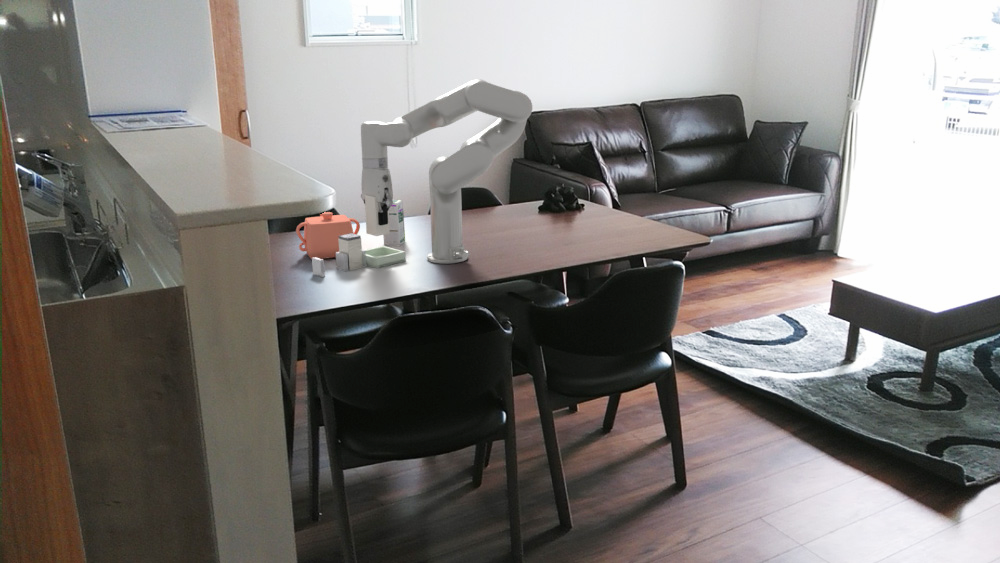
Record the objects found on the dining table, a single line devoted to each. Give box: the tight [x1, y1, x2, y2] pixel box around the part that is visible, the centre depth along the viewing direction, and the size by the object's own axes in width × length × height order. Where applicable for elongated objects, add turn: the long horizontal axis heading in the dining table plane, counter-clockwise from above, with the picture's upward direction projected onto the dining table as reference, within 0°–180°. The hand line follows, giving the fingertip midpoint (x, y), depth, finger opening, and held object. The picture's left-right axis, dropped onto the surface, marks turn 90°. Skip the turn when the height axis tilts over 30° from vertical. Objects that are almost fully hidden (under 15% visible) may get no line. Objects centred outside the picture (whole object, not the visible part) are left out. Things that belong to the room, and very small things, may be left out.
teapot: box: [295, 211, 361, 260], centre depth 255 cm, size 20×19×14 cm
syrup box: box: [382, 199, 406, 246], centre depth 265 cm, size 6×6×14 cm
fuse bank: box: [311, 232, 367, 278], centre depth 235 cm, size 5×16×10 cm, turn 135°
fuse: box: [364, 195, 390, 237], centre depth 241 cm, size 5×5×12 cm
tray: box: [364, 245, 407, 269], centre depth 245 cm, size 11×11×3 cm
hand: (377, 222), depth 242 cm, fingers closed on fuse, 5 cm apart
